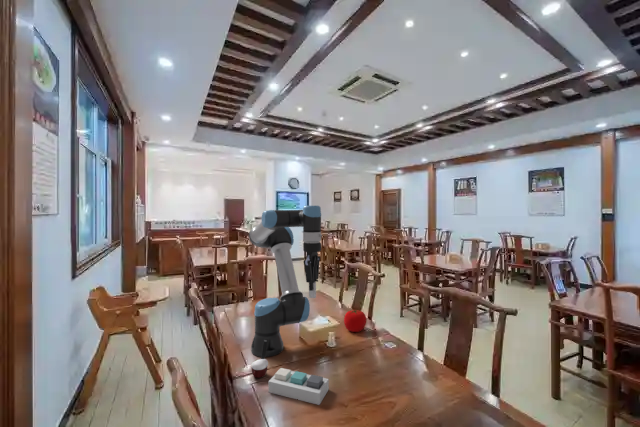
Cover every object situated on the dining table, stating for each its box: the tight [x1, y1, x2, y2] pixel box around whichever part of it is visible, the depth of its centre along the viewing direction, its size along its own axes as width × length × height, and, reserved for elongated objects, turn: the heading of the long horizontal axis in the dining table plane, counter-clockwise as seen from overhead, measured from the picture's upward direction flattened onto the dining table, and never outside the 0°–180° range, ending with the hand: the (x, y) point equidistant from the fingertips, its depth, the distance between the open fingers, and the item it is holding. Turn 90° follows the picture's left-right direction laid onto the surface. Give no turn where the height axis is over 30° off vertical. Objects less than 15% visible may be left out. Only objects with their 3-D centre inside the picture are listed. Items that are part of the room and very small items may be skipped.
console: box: [267, 370, 330, 406], centre depth 111 cm, size 20×9×4 cm, turn 68°
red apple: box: [343, 309, 367, 333], centre depth 166 cm, size 12×13×11 cm
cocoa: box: [250, 340, 269, 379], centre depth 122 cm, size 10×6×12 cm, turn 139°
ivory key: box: [274, 367, 292, 382], centre depth 114 cm, size 4×4×4 cm
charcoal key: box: [307, 374, 324, 390], centre depth 109 cm, size 4×4×4 cm
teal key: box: [291, 370, 308, 386], centre depth 111 cm, size 4×4×4 cm
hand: (312, 297), depth 128 cm, fingers closed
